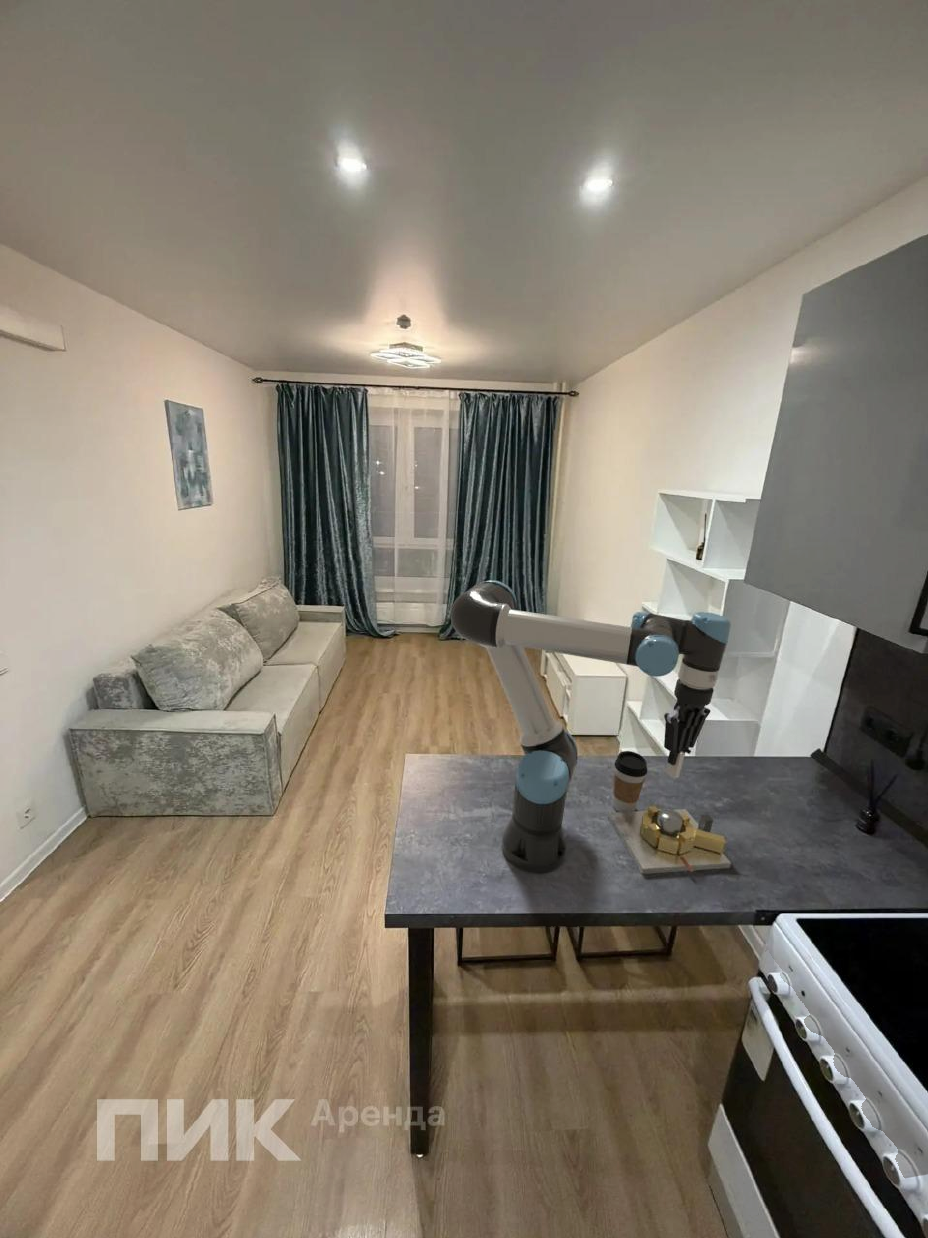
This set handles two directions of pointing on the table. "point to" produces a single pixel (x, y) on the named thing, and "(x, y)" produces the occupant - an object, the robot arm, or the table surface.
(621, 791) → the coffee cup
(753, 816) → the table surface
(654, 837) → the brass ball clamp
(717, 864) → the flange plate
